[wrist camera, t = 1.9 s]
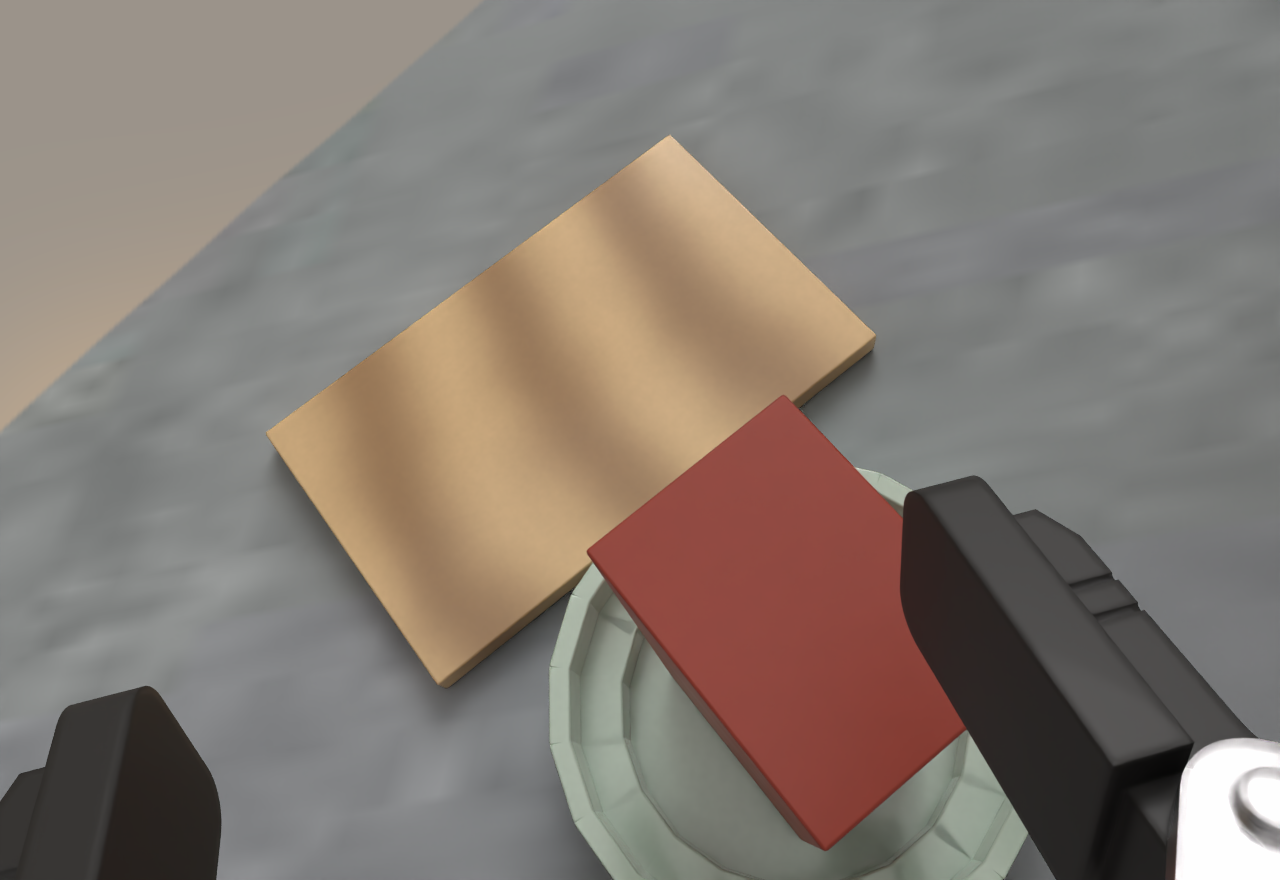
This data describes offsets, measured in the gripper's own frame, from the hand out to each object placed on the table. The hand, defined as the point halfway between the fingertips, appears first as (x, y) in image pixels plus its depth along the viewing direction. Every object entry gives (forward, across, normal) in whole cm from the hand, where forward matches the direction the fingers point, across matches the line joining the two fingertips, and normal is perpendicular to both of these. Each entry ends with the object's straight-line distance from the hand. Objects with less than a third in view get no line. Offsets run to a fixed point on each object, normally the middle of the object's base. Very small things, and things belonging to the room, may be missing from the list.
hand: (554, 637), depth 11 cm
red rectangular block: (+11, -6, +17) cm, 21 cm away
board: (+22, -2, +12) cm, 25 cm away
